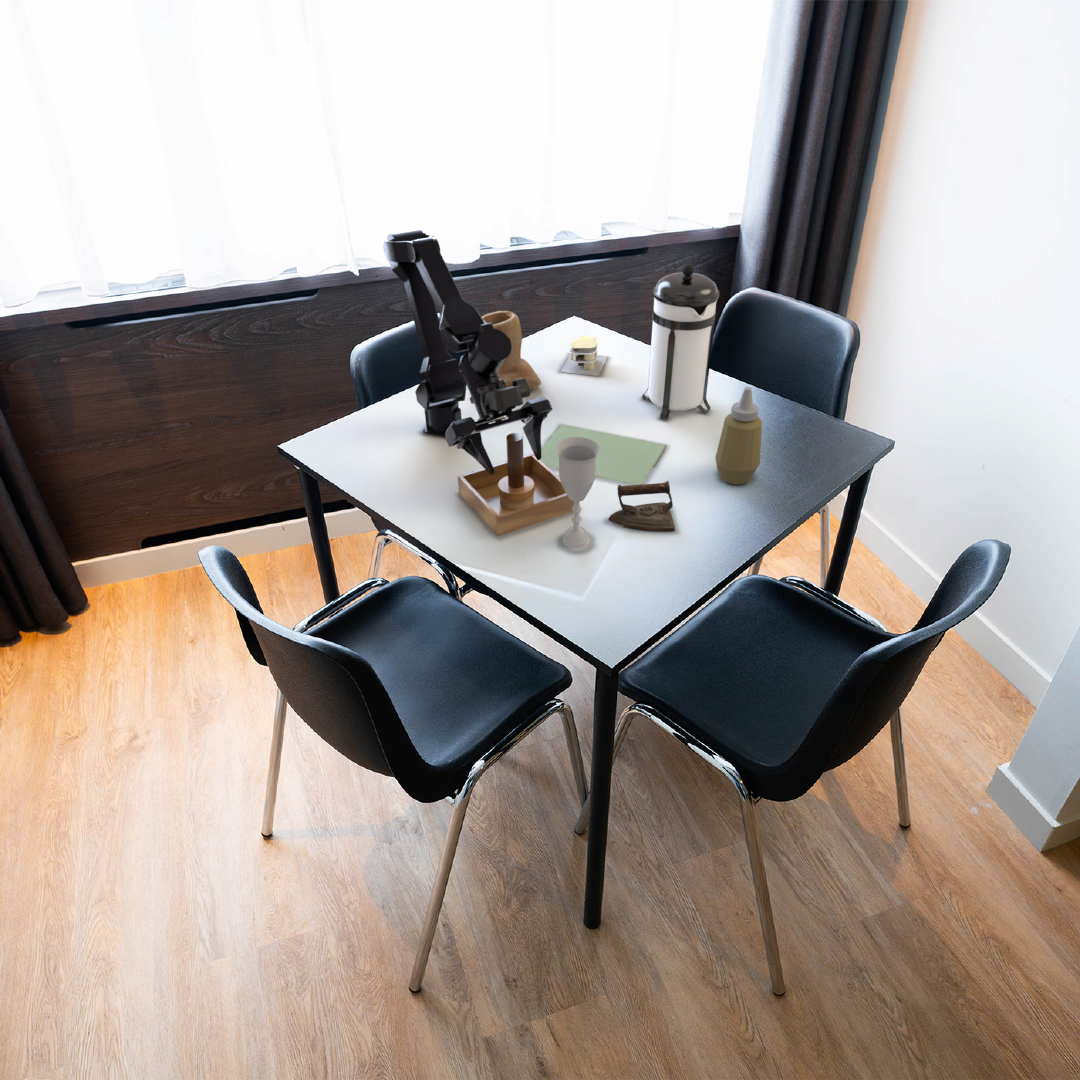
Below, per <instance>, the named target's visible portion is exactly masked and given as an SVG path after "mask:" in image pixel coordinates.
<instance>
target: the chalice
mask: <svg viewBox="0 0 1080 1080" xmlns="http://www.w3.org/2000/svg"><path fill="white" fill-rule="evenodd" d="M599 451H600V447H599V446H598V444H597V443H596V442H594V441H593V440H591V439H588V438H584V437H571V438H566V439H564V440H562V441H560V442H559V443H558V444H557V445H556V452H557V454H558V455H559V469H558V476H559V478H560V481H561V484H562V486H563V488H564V490H565V492H566V494H567V496H568V497H569V499H570V500H572V501H574V506H573V507H572V510H573V511H572V513H573V515H572V516H571V517H570V519H571V521H572V523H573V526H570V527H568V528H567V530H565V532H564V535H563V537H562V540H561V541H562V544H563V545H564V546H565V547H566V548H569V549H571V550H581V549H585V548H586V547H588V546H589V544H590V543H591V538H590V536H589V534H588V531H587V530H586V529H585V528H584V527H582V526H580V522H581V521H582V520H583V519H582V518H583V517H582V516H581V515H580V513H581V512H582V507H581V504H580V502H583V501H584V500H585V499H586V497H587V495H588V494H589V492H590V491H591V489H592V487H593V485H594V482H595V480H596V478H597V477H596V456H597V455H598V453H599Z"/></svg>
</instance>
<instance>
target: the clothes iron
mask: <svg viewBox="0 0 1080 1080" xmlns="http://www.w3.org/2000/svg"><path fill="white" fill-rule="evenodd" d="M656 494H657V495H658V494H666V495H668V498H669V502H665V501H661V502H650V503H644V504H638V505H637V504H636V505H631V504H630V505H629V504H624V503H623V499H622V497H630V496H643V495H656ZM617 496H618V501H619V505H620V507H621V509H619V510H617V511H615V512H613V513H612V514H611V515H610V516H608V517H609V518H608V520H609V521H610V522H612V523H614V524H616V525H620V526H623V528H625V529H630V530H635V531H643V532H659V533H661V532H662V533H665V532H666V533H671V532H676V528H675V523H674V518H673V515H672V511H671V509H672V508H673V507H674V506H673V505H674V503H673V497H672V494H671V486H670V482H669V480H666V481H665V482H658V483H643V484H641V485H634V484H629V485H621V484H618V485H617Z"/></svg>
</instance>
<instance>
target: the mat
mask: <svg viewBox="0 0 1080 1080" xmlns="http://www.w3.org/2000/svg"><path fill="white" fill-rule="evenodd" d="M571 437H584V438H588V439H591V440H593V441H594V442H596V443H597V444H598V446H599V447H600V451H599V453H598V455H597V456H596V477H595V478H602V479H606V480H610V481H616V482H621V483H625V484H629V485H641V484H644V482H645V481H646V480H647V477H649V474H650V472H651V470H652V469H653V468H654V467H655V465H656V464H657V462H658V460H659V459H660V457H661V456H662V453H663V452H664V450H665V449H666V446H667V444H665V443H664V444H663V443H661V442H653V441H649V440H644V439H638V438H633V437H628V436H623V435H618V434H613V433H608V432H602V431H597V430H592V429H587V428H583V427H577V426H573V425H572V426H571V425H566V424H560V426H559V427H558V428H557V430H556V431H555V432H554V433H553V434H552V435H551V436H550V438H549V440H548V441H547V442H546V443H545V444H544V445H543V446H542V447H541V457H542V458H541V459H540V460H541V461H542V462H543V463H544V464H545V465H547V466H548V467H549V468H554V469H558V470H559V455H558V454H557V452H556V445H557V444H558V443H559V442H560V441H562V440H564V439H566V438H571Z"/></svg>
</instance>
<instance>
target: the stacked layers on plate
mask: <svg viewBox="0 0 1080 1080" xmlns="http://www.w3.org/2000/svg"><path fill="white" fill-rule="evenodd" d="M569 346H570V350H569V353H570V354H569V355H568V357H567V359H566V360H565V363H564V364H563V366H562V368H561V369H560V373H568V374H575V375H577V374H578V375H585V376H594V377H595V376H596V377H599V376H600V374H601V373H602V370H603V368H604V366H605V364H606V362H607V359H608V357H603V356H597V355H598V351H597V348H598V337H596V336H585V335H580V336H579V337H577V338H576V339H574V340H573V341H572V342H571V343H570V344H569Z"/></svg>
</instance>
